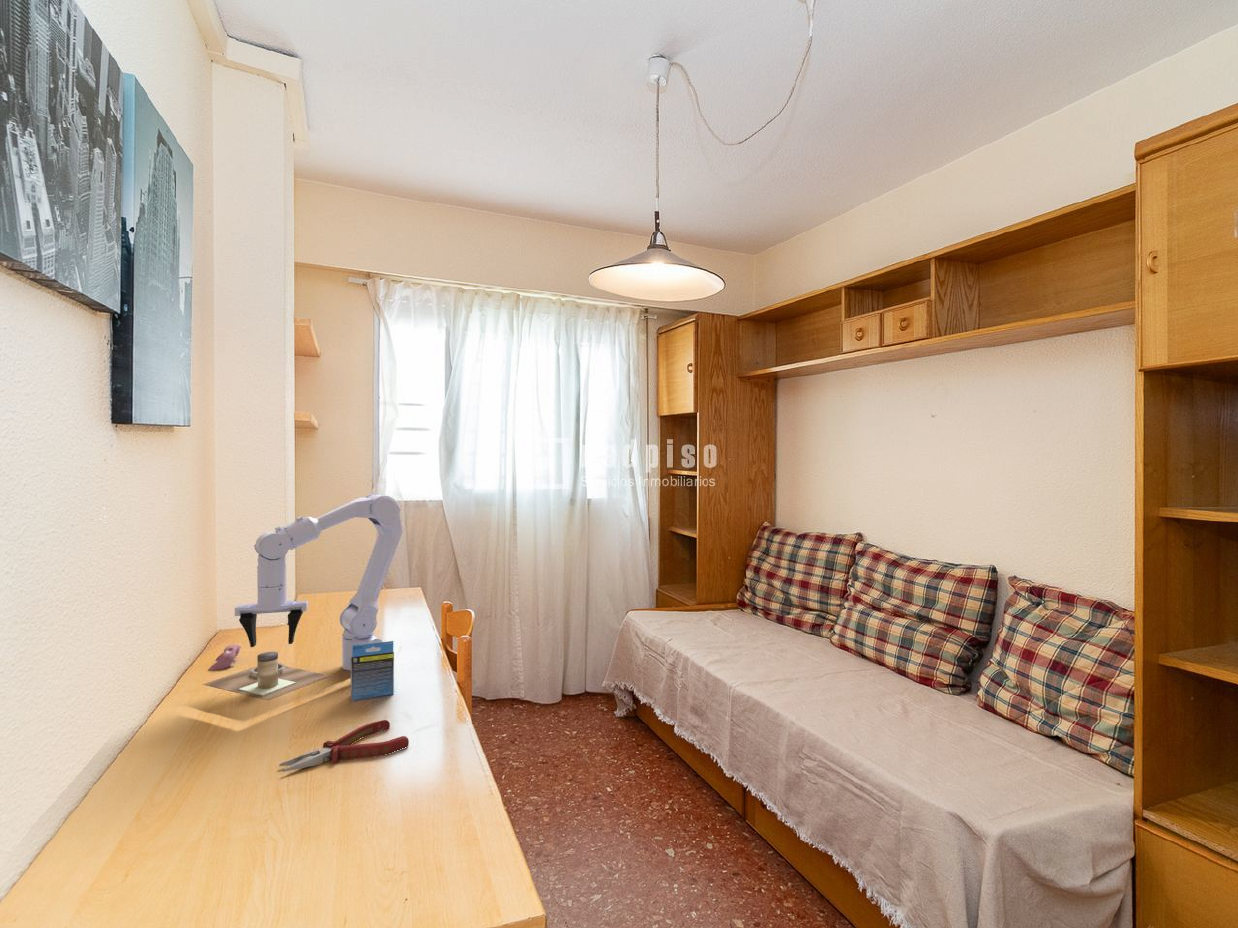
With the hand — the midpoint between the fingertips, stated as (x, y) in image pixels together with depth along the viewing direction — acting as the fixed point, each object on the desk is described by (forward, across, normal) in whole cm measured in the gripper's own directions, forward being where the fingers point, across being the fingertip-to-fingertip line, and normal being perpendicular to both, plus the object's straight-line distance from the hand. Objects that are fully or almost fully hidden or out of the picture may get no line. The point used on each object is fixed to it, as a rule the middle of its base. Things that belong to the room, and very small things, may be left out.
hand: (272, 644), depth 140 cm
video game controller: (+11, +14, -18) cm, 26 cm away
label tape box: (+11, -22, +10) cm, 27 cm away
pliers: (+11, -20, +36) cm, 42 cm away
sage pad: (+9, 0, +2) cm, 9 cm away
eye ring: (+9, +2, -7) cm, 12 cm away
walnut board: (+10, +1, -2) cm, 11 cm away
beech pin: (+8, 0, +2) cm, 9 cm away
